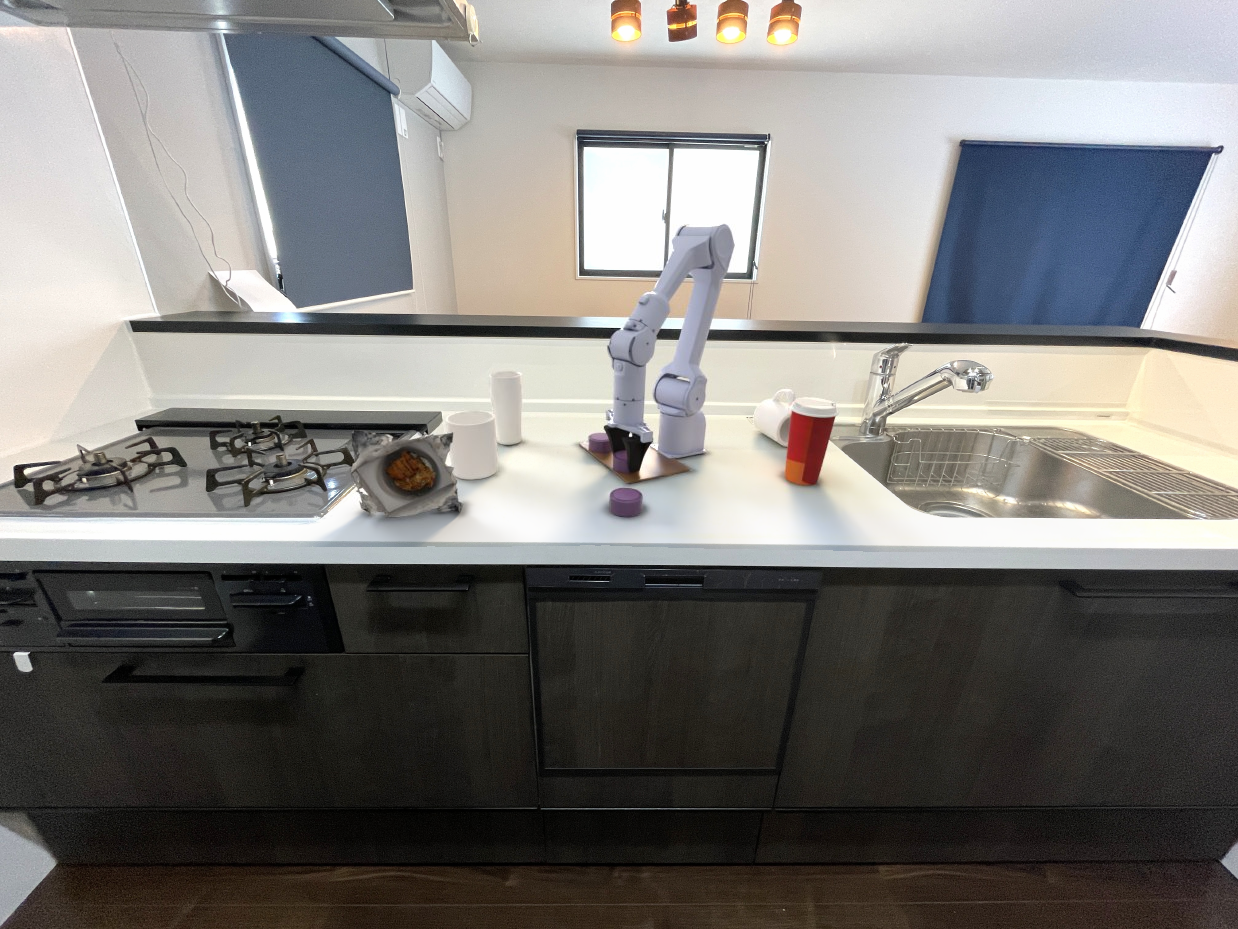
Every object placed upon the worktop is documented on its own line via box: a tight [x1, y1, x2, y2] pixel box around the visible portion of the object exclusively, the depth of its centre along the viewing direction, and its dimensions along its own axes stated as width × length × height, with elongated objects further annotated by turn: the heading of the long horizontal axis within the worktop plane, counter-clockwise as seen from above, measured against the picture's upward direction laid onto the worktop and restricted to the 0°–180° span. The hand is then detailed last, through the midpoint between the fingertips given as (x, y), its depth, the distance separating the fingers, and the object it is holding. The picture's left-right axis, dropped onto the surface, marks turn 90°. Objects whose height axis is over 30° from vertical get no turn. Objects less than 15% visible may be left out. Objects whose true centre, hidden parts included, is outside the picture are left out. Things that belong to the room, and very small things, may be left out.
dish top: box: [587, 432, 612, 453], centre depth 104 cm, size 5×5×3 cm
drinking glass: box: [488, 370, 524, 446], centre depth 105 cm, size 7×7×15 cm
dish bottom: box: [608, 487, 644, 518], centre depth 81 cm, size 5×5×3 cm
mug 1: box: [444, 409, 500, 481], centre depth 93 cm, size 9×12×11 cm
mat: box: [578, 433, 692, 485], centre depth 102 cm, size 14×22×1 cm, turn 28°
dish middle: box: [613, 450, 637, 473], centre depth 95 cm, size 5×5×3 cm
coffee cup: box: [784, 396, 839, 486], centre depth 91 cm, size 8×8×15 cm
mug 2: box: [752, 388, 797, 447], centre depth 111 cm, size 8×10×12 cm
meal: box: [349, 429, 464, 519], centre depth 76 cm, size 15×4×13 cm, turn 98°
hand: (626, 465), depth 95 cm, fingers closed on dish middle, 5 cm apart
